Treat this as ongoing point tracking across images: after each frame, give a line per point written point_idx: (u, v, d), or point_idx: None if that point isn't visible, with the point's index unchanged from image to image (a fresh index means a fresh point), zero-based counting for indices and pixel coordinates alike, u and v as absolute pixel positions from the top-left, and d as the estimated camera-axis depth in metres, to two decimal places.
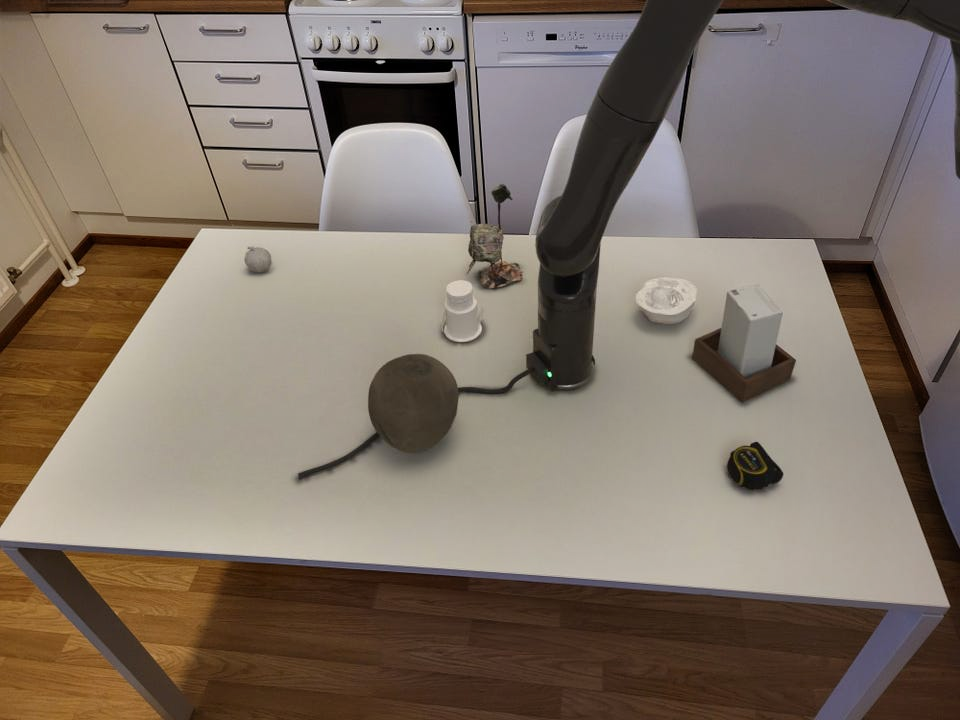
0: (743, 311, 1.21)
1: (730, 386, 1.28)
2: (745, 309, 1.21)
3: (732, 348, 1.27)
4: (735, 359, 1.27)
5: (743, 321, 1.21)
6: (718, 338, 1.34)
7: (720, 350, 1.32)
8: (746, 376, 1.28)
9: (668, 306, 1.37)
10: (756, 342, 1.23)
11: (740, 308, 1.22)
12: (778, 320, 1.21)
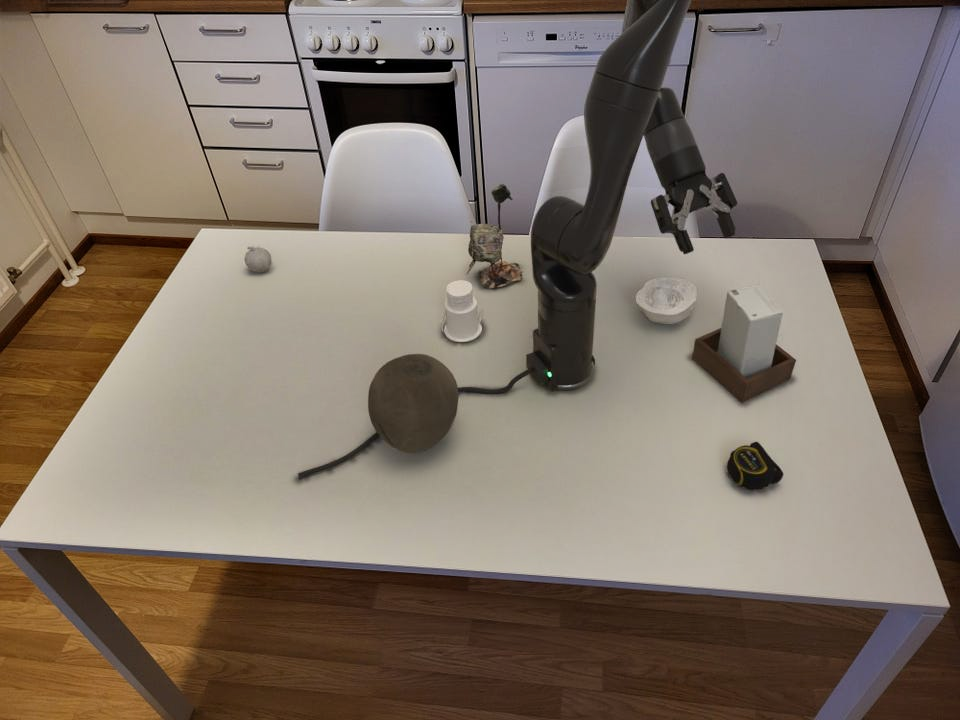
0: (743, 311, 1.21)
1: (730, 386, 1.28)
2: (745, 309, 1.21)
3: (732, 348, 1.27)
4: (735, 359, 1.27)
5: (743, 321, 1.21)
6: (718, 338, 1.34)
7: (720, 350, 1.32)
8: (746, 376, 1.28)
9: (668, 306, 1.37)
10: (756, 342, 1.23)
11: (740, 308, 1.22)
12: (778, 321, 1.21)
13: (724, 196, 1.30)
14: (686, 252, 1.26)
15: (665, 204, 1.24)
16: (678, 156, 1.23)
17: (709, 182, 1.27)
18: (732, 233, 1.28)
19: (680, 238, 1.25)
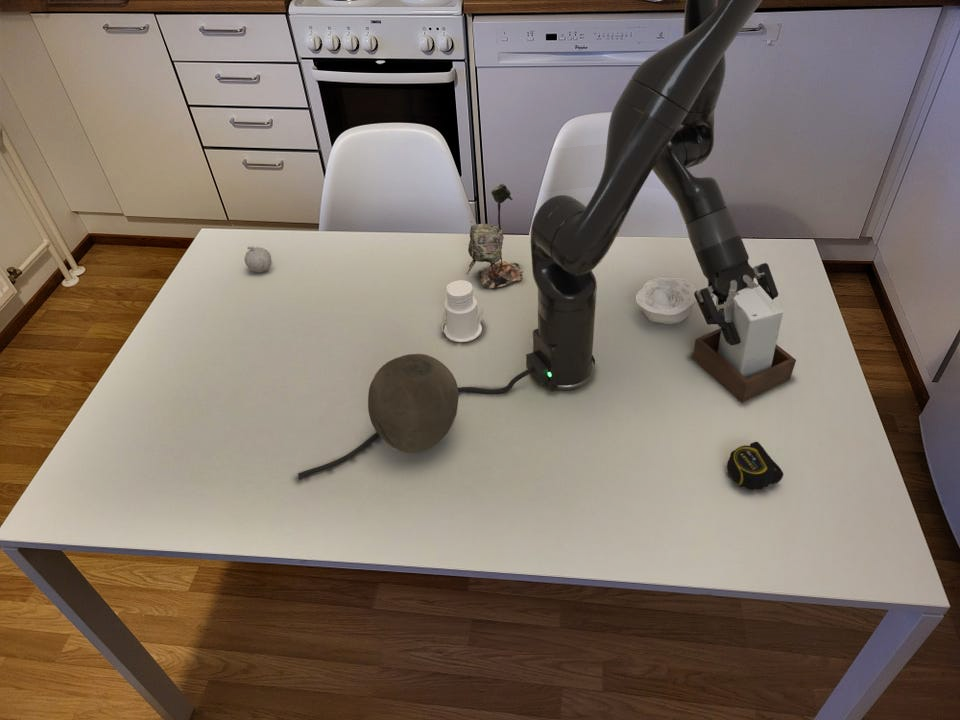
0: (743, 311, 1.21)
1: (730, 386, 1.28)
2: (745, 309, 1.21)
3: (732, 348, 1.27)
4: (735, 359, 1.27)
5: (744, 321, 1.21)
6: (718, 338, 1.34)
7: (720, 350, 1.32)
8: (746, 376, 1.28)
9: (668, 306, 1.37)
10: (756, 343, 1.23)
11: (740, 308, 1.22)
12: (778, 321, 1.21)
13: (765, 286, 1.28)
14: (732, 343, 1.25)
15: (710, 297, 1.23)
16: (722, 248, 1.22)
17: (752, 271, 1.26)
18: None
19: (727, 330, 1.24)
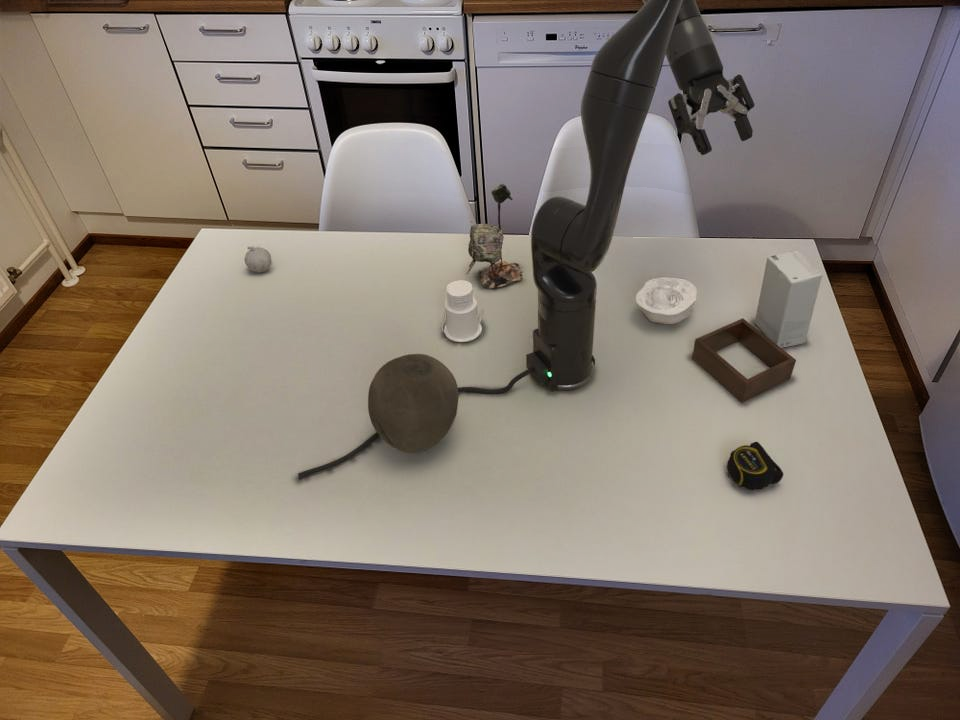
0: (783, 274, 1.27)
1: (730, 386, 1.28)
2: (786, 272, 1.27)
3: (771, 311, 1.33)
4: (774, 322, 1.33)
5: (784, 284, 1.28)
6: (718, 338, 1.34)
7: (758, 315, 1.38)
8: (785, 338, 1.34)
9: (668, 306, 1.37)
10: (796, 305, 1.29)
11: (781, 272, 1.28)
12: (817, 283, 1.27)
13: (741, 99, 1.29)
14: (704, 152, 1.25)
15: (683, 103, 1.24)
16: (696, 54, 1.23)
17: (727, 83, 1.27)
18: (750, 135, 1.27)
19: (698, 137, 1.24)
